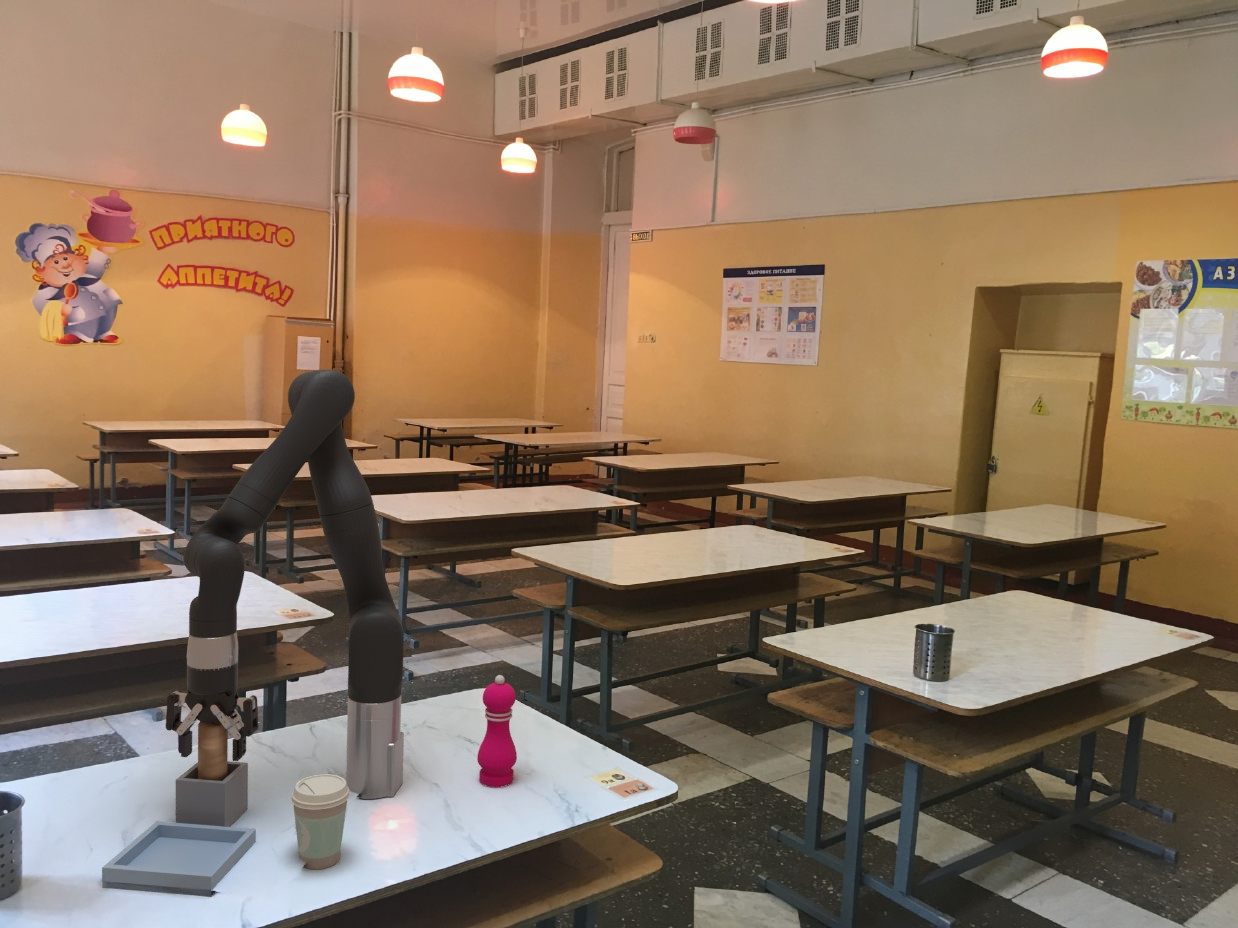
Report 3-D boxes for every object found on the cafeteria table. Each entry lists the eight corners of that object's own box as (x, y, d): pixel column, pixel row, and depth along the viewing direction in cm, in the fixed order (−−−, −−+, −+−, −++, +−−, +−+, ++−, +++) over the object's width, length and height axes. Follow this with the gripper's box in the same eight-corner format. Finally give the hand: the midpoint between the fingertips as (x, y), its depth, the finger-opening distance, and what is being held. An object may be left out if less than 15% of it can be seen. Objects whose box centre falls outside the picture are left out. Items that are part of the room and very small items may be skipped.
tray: (255, 847, 148) (255, 828, 148) (211, 896, 134) (211, 876, 134) (156, 839, 149) (156, 820, 149) (102, 887, 135) (102, 867, 135)
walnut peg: (232, 813, 156) (232, 719, 155) (219, 825, 152) (219, 728, 151) (206, 810, 157) (206, 717, 155) (192, 823, 152) (192, 727, 151)
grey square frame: (247, 814, 158) (247, 762, 157) (224, 837, 150) (224, 783, 149) (201, 810, 159) (201, 759, 158) (175, 834, 151) (175, 779, 150)
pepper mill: (469, 783, 174) (472, 677, 172) (489, 768, 180) (492, 666, 178) (504, 791, 171) (507, 684, 169) (522, 776, 178) (526, 672, 176)
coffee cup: (298, 845, 149) (299, 771, 148) (353, 845, 150) (354, 772, 149) (283, 874, 141) (284, 796, 139) (342, 874, 141) (343, 797, 140)
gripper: (266, 655, 155) (265, 751, 157) (182, 649, 156) (181, 744, 158) (245, 670, 148) (243, 770, 149) (156, 663, 149) (156, 763, 150)
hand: (211, 757), depth 153 cm, fingers open, 8 cm apart
